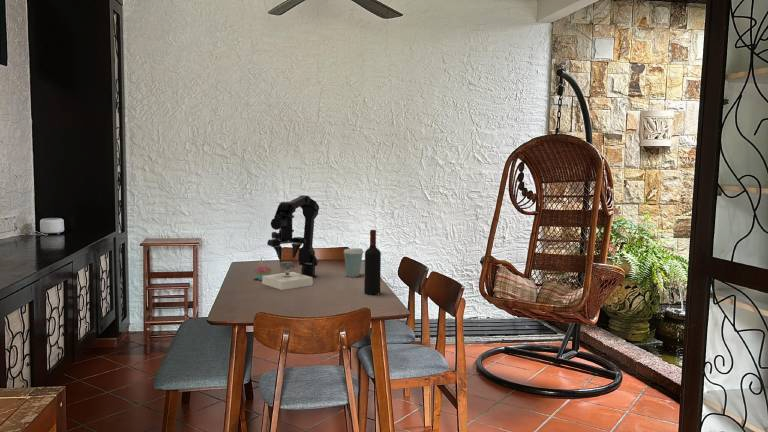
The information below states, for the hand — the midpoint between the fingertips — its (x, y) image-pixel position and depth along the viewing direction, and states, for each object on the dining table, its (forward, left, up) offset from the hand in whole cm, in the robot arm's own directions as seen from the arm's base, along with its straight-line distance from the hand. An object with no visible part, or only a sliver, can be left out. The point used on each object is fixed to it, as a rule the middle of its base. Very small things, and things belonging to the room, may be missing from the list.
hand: (286, 258), depth 312 cm
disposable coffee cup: (-40, +2, -13) cm, 42 cm away
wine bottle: (-21, +41, -13) cm, 48 cm away
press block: (0, 0, -13) cm, 13 cm away
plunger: (0, 0, -8) cm, 8 cm away
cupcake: (+3, -19, -13) cm, 23 cm away
